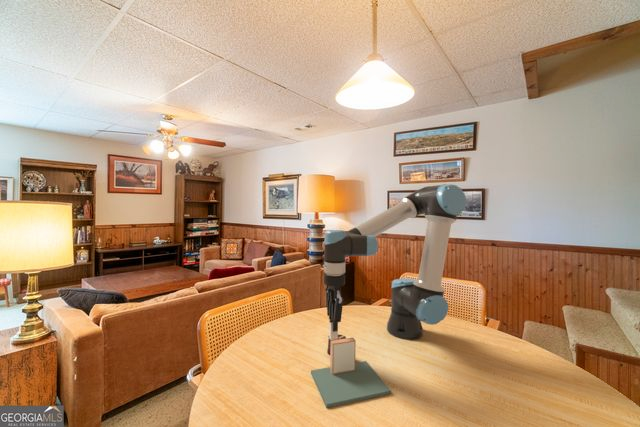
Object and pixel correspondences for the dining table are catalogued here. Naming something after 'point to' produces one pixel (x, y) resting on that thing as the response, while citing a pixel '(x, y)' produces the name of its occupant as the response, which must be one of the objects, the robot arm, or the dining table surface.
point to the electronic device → (336, 339)
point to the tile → (342, 355)
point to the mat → (349, 385)
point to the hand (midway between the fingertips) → (333, 338)
